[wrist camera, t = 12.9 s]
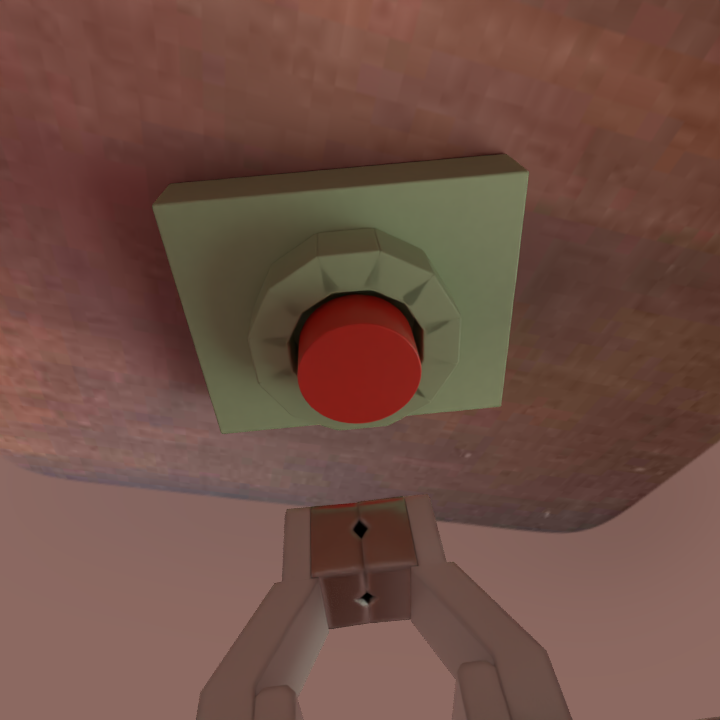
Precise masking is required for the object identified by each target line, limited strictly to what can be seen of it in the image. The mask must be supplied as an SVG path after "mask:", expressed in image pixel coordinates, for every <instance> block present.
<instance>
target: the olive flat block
mask: <svg viewBox="0 0 720 720" xmlns="http://www.w3.org/2000/svg"><path fill="white" fill-rule="evenodd" d="M528 176H529V172H528V170H526V169H525V168H524V167H522V166H521V165H520V164H519V163H517V162H516V161H515V160H513V159H512V158H511V157H509V156H508V155H507V154H498V155H487V156H476V157H464V158H453V159H442V160H431V161H420V162H408V163H397V164H386V165H375V166H364V167H352V168H341V169H330V170H319V171H308V172H296V173H285V174H274V175H263V176H252V177H240V178H229V179H218V180H207V181H196V182H184V183H173V184H169V185H168V186H167V188H166V189H165V190H164V191H163V192H162V194H161V195H160V196H159V197H158V198H157V200H156V201H155V202H154V203H153V205H152V209H153V212H154V215H155V219H156V222H157V225H158V228H159V232H160V235H161V238H162V241H163V245H164V248H165V251H166V254H167V258H168V261H169V264H170V268H171V271H172V274H173V277H174V281H175V284H176V287H177V290H178V294H179V297H180V300H181V303H182V307H183V310H184V313H185V316H186V320H187V323H188V326H189V330H190V333H191V336H192V339H193V343H194V346H195V349H196V352H197V356H198V359H199V362H200V365H201V369H202V372H203V375H204V379H205V382H206V385H207V388H208V392H209V395H210V398H211V401H212V405H213V408H214V411H215V414H216V418H217V421H218V424H219V427H220V431H221V433H222V434H228V433H238V432H248V431H258V430H268V429H278V428H288V427H298V426H308V425H318V424H319V425H322V426H325V427H328V428H332V429H335V430H349V429H359V428H369V427H379V426H387V425H391V424H392V423H394V422H396V421H398V420H400V419H402V418H403V417H405V416H409V415H419V414H429V413H439V412H449V411H460V410H470V409H480V408H490V407H499V406H501V401H502V393H503V385H504V376H505V368H506V360H507V351H508V343H509V335H510V326H511V318H512V310H513V301H514V293H515V285H516V276H517V268H518V260H519V251H520V243H521V235H522V226H523V218H524V210H525V201H526V193H527V185H528ZM355 294H362V295H370V296H375V297H378V298H381V299H383V300H385V301H387V302H389V303H391V304H392V305H394V306H395V307H397V308H398V309H399V310H400V311H401V312H402V313H403V315H404V316H405V317H406V319H407V320H408V322H409V325H410V327H411V330H412V333H413V337H414V340H415V344H416V347H417V350H418V354H419V357H420V361H421V367H422V373H421V380H420V384H419V386H418V389H417V391H416V392H415V394H414V396H413V397H412V398H411V400H410V401H409V402H408V403H407V404H406V405H405V406H404V407H403V408H402V409H400V410H399V411H397V412H396V413H394V414H393V415H391V416H389V417H386V418H384V419H381V420H378V421H374V422H369V423H360V424H353V423H343V422H339V421H335V420H332V419H329V418H327V417H325V416H323V415H321V414H320V413H318V412H317V411H315V410H314V409H313V408H312V407H311V406H310V405H309V404H308V403H307V402H306V400H305V399H304V397H303V395H302V393H301V391H300V389H299V385H298V379H297V371H298V351H299V337H300V333H301V330H302V328H303V325H304V324H305V322H306V320H307V319H308V318H309V316H310V315H311V314H312V313H313V312H314V311H315V310H316V309H317V308H319V307H320V306H321V305H323V304H325V303H326V302H328V301H330V300H333V299H335V298H338V297H341V296H346V295H355Z"/></svg>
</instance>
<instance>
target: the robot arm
mask: <svg viewBox="0 0 720 720" xmlns="http://www.w3.org/2000/svg"><path fill="white" fill-rule="evenodd" d="M369 619H370V620H369ZM409 619H411V621H412V623H413V624H414V626H415V627H416V628H417V629H418V631H419V632H420V633H421V635H422V636H423V637H424V639H425V640H426V641H427V643H428V644H429V645H430V647H431V648H432V649H433V651H434V652H435V653H436V654H437V656H438V657H439V658H440V660H441V661H442V662H443V664H444V665H445V666H446V667H447V669H448V670H449V671H450V673H451V674H452V675H453V677H454V678H455V679H456V684H455V694H454V703H453V713H452V720H572V717H571V715H570V712H569V709H568V707H567V704H566V701H565V699H564V696H563V693H562V691H561V688H560V685H559V683H558V680H557V677H556V675H555V672H554V669H553V667H552V664H551V661H550V659H549V656H548V654H547V651H546V650H545V649H544V648H543V647H542V646H541V645H540V644H539V643H538V642H537V641H536V640H535V639H534V638H533V637H532V636H531V635H530V634H528V633H527V632H526V631H525V630H524V629H523V628H522V627H521V626H520V625H519V624H518V623H517V622H516V621H515V620H514V619H513V618H512V617H511V616H510V615H508V613H507V612H506V611H504V610H503V609H502V608H501V607H500V606H499V605H498V604H497V603H496V602H495V601H494V600H493V599H492V598H491V597H490V596H489V595H488V594H487V593H486V592H485V591H484V590H483V589H482V588H480V587H479V586H478V585H477V584H476V583H475V582H474V581H473V580H472V579H471V578H470V577H469V576H468V575H467V574H466V573H465V572H464V571H463V570H462V569H461V568H460V567H458V566H457V565H456V564H455V563H454V562H446V558H445V554H444V550H443V547H442V543H441V539H440V535H439V531H438V527H437V523H436V519H435V516H434V512H433V508H432V504H431V500H430V497H429V496H428V495H427V494H422V495H413V496H404V498H403V496H400V497H392V498H384V499H376V500H368V501H360V502H357V503H349V504H338V505H326V506H314V507H305V508H295V509H287V511H286V514H285V525H284V548H283V571H282V582H278V583H274V585H273V586H272V588H271V589H270V591H269V592H268V594H267V595H266V597H265V598H264V600H263V601H262V603H261V604H260V605H259V607H258V609H257V610H256V611H255V613H254V614H253V616H252V617H251V619H250V620H249V622H248V623H247V625H246V626H245V628H244V629H243V631H242V632H241V634H240V635H239V636H238V638H237V640H236V641H235V642H234V644H233V645H232V647H231V648H230V650H229V651H228V653H227V654H226V656H225V657H224V659H223V660H222V662H221V663H220V664H219V666H218V667H217V669H216V670H215V672H214V673H213V675H212V676H211V678H210V679H209V681H208V682H207V684H206V685H205V687H204V688H203V690H202V691H201V693H200V698H199V704H198V710H197V717H196V720H304V719H303V716H302V713H301V709H300V706H299V702H298V696H299V694H300V692H301V690H302V688H303V686H304V683H305V682H306V679H307V677H308V675H309V673H310V671H311V669H312V667H313V665H314V662H315V661H316V658H317V656H318V654H319V652H320V650H321V648H322V646H323V644H324V641H325V639H326V637H327V635H328V633H329V630H328V629H334V628H341V627H347V626H353V625H361V624H367V623H377V622H388V621H398V620H409ZM698 720H720V717H713V718H705V719H698Z"/></svg>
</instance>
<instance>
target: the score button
mask: <svg viewBox="0 0 720 720" xmlns="http://www.w3.org/2000/svg"><path fill="white" fill-rule="evenodd" d="M421 373H422V367H421V361H420V357H419V354H418V350H417V347H416V344H415V340H414V337H413V333H412V330H411V327H410V325H409V322H408V320H407V319H406V317H405V316H404V315H403V313H402V312H401V311H400V310H399V309H398V308H397V307H395V306H394V305H392V304H391V303H389V302H387V301H385V300H383V299H381V298H378V297H375V296H370V295H362V294H355V295H346V296H341V297H338V298H335V299H333V300H330V301H328V302H326V303H325V304H323V305H321V306H320V307H319V308H317V309H316V310H315V311H314V312H313V313H312V314H311V315H310V316H309V318H308V319H307V320H306V322H305V324H304V325H303V328H302V330H301V333H300V337H299V351H298V371H297V379H298V385H299V389H300V391H301V393H302V395H303V397H304V399H305V400H306V402H307V403H308V404H309V405H310V406H311V407H312V408H313V409H314V410H315V411H317V412H318V413H320V414H321V415H323V416H325V417H327V418H329V419H332V420H335V421H339V422H343V423H353V424H360V423H369V422H374V421H378V420H381V419H384V418H386V417H389V416H391V415H393V414H394V413H396V412H397V411H399V410H400V409H402V408H403V407H404V406H405V405H406V404H407V403H408V402H409V401H410V400H411V398H412V397H413V396H414V394H415V392H416V391H417V389H418V386H419V384H420V380H421Z"/></svg>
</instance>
